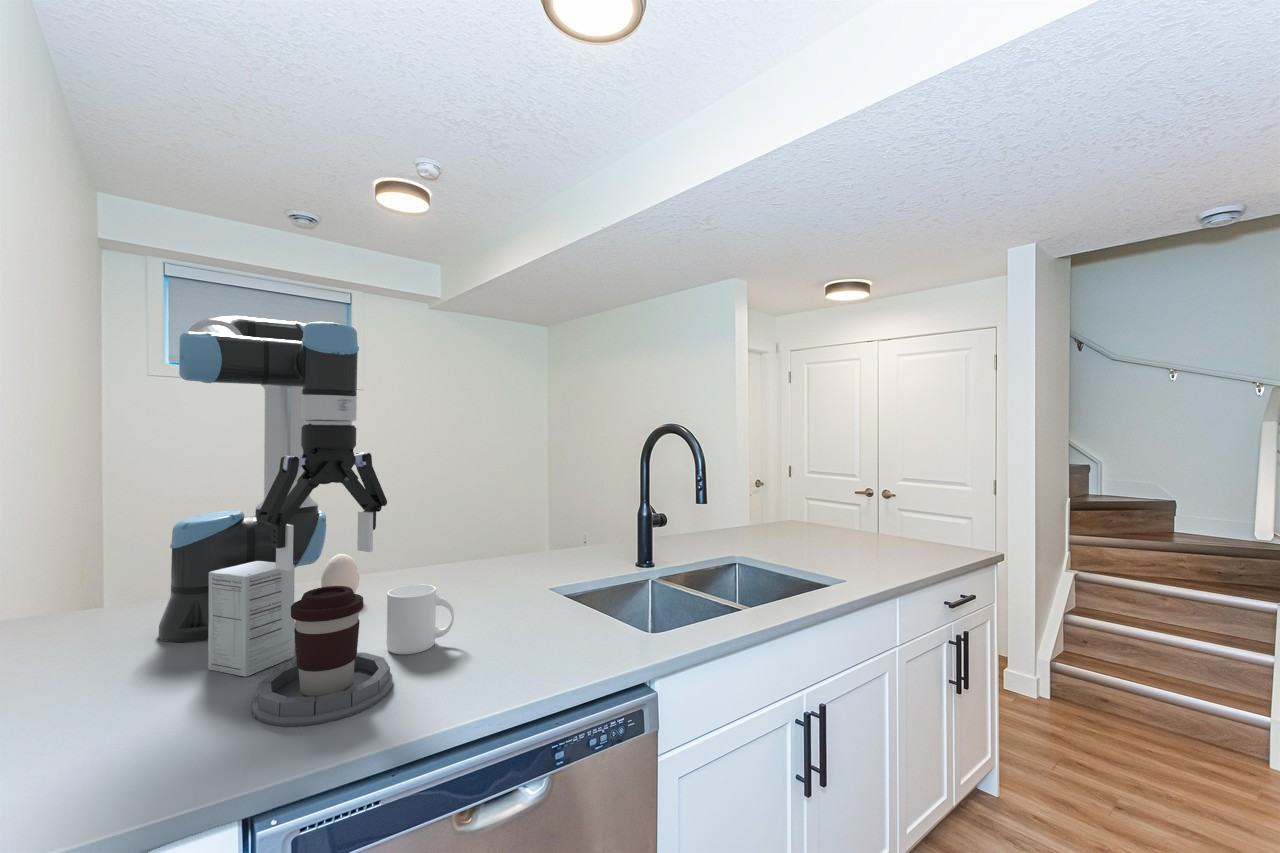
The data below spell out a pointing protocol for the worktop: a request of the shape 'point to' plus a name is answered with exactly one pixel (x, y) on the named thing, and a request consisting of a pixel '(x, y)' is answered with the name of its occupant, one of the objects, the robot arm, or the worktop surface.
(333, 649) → the coffee cup
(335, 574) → the egg
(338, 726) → the worktop surface
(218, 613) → the supplement box
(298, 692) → the bowl
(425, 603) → the mug
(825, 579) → the worktop surface
